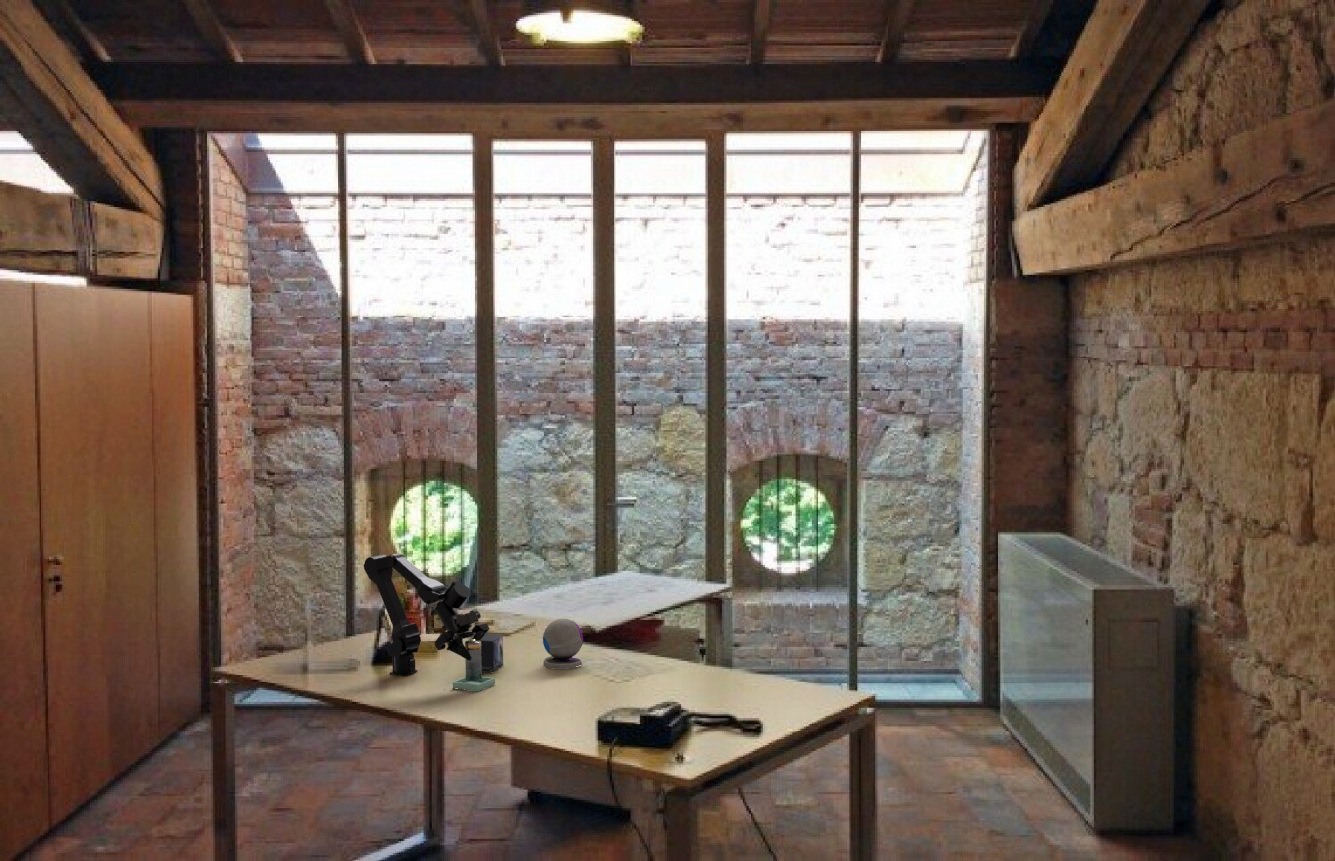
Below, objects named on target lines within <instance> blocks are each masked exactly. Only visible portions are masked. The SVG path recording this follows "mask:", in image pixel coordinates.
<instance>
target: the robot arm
mask: <svg viewBox="0 0 1335 861" xmlns="http://www.w3.org/2000/svg"><path fill="white" fill-rule="evenodd" d="M363 569H364V571H365V574H366V575H367V578H368V579H369V580H370V581H372V582H373V584H375V585H376V587H377V589H378V592H379V594H380V597H381V599H382V602H383V604H384V607H385V609H386V612H387V615H388V618H389V620H390V622H391V625H392V629H391V630H392V632H391V639H392V643H391V644H390V645H389V646H388V648H387V649H386V651H387V652H386V653H387V655H388V656H389V657H391V658H392V660H391V661H392V662H391V663H392V671H389V675H396V676H405V677H407V676H410V675H412V674H414V673H415V674H416V673H417V672H418V669H416V659H415V653H418V651H419V647H420V644H421V641H422V637H421V635H422V633H421V632H420V630H419V626H418V625H417V623H416V622H415V623H411V622H410V621H409V620H408V618H407V616H406V613H405V610H404V607H403V605H402V602H401V600H400V598H399V595H398V593H397V590H396V589H397V588H395V584H394V582H393V571H395V572H397V573H398V574H399V575H400V576H402V578H404V580H406V581H407V582H408V583H409V584H410V585H411V586H413V587H414V588H415V589H416V593H417V596H418V597H419V598H420V599H421V601H422V602H423V603H424V604H426V605H431V604H436V603H437V604H436V605H435V606H434V605H433V606H431V611H430V616H431V617H432V616H437V617H438V619H439V620H440V621H441V623H442V627H441V628H442V630H443V631H444V632H441V633H440V635H439V636H438V637H437V638H436V640H435V641H434V646H435V648H436V649H437V651H442V650H444V649H446V651H450V652H452V653H455V654H456V655H458V656H460V657H462V658H463V659H464V660H465V659H467V660H468V661H470V660H471V657H470V654H469V653H468V651H467V649H466V648H465V643H463V642H464V641H463V639H467V641H468V640H471V639H475V640H480V641H481V639H482V638H483V637H484V635H485V634H486V633H488V632H489V631H490V627H489V625H488V623H487V622H482V623H478V622H479V619H481V616H482V615H481V612H480V611H479V610H478V609H477V608H474V609H471V610H470V611H469V612H466V613H460V612H458V610H457V609H460V608H461V607H462V606H463V605H464V604H465V602H466V601H467V600H468V599H469V597H471V594H472V593H471V589H470V588H469V587H468V586H467V585H465V584H464V583H460V582H459V580H454V581H452V582H451V583H450V586H449V587H447V586H445V584H443V583H441V582H440V581H439V580H436V579H434V578H430V577H428V576H426V575H425V574H424V573H423V572H422V571H421V570H420V569H418V567H416V566H415V565H414V564H413V563H412V562H411V561H410V560H408V559H407V558H406V557H405V555H404V554H403V553H402V552H401V553H400V552H396V553H392V554H389V555H386V554H379V555H374V556H369V557H367V558H365V560H364V564H363ZM475 623H477V624H475ZM473 624H475V625H474V626H473ZM471 628H472V629H471ZM470 629H471V630H470ZM445 630H446V631H445ZM446 644H447V645H446ZM446 646H447V648H446ZM481 657H483V650H482V646H481Z"/></svg>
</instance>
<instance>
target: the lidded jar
mask: <svg viewBox="0 0 1335 861" xmlns="http://www.w3.org/2000/svg"><path fill="white" fill-rule="evenodd" d="M464 646H465V648H466V649H467V651H468V653H469V654H470V657H471V660H470V661H468V660H467V659H465V658H464V660H465V677H466V680H468V681H477V680H481V679H482V677H483V676H482V674H483V672H482V670H481V641H480V640H475V639H471V640H468V639H467V640H465V641H464Z"/></svg>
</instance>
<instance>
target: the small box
mask: <svg viewBox="0 0 1335 861" xmlns="http://www.w3.org/2000/svg"><path fill="white" fill-rule="evenodd" d="M481 646H482V650H483V657H481V670H482V673H490V672H493V673H495V672H496V671H498V668H499V669H500V668H501V667H503V666H504V634H502V633H490V632H489V633H488V632H487V633H486V634H485V635H484V637H483V638H482V639H481ZM502 665H503V666H502Z"/></svg>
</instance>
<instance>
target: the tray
mask: <svg viewBox="0 0 1335 861" xmlns="http://www.w3.org/2000/svg"><path fill="white" fill-rule="evenodd" d="M494 684H495V685H496V678H494V677H489V676H482V679H481V680H477V681H468V680H466V676H465V677H461V678H460V679H457V680H454V681H452V689H453V688H458V689H457V690H460V689H463V690H462V691H468V690H470V691H471V692H476V691H478V692H481V691H483V689H484V688H486V689H488V688H491V687H492V685H493V686H495V685H494ZM490 686H491V687H490ZM464 689H465V690H464ZM480 690H481V691H480ZM484 690H485V689H484ZM470 691H469V692H470ZM478 692H477V693H478Z"/></svg>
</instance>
